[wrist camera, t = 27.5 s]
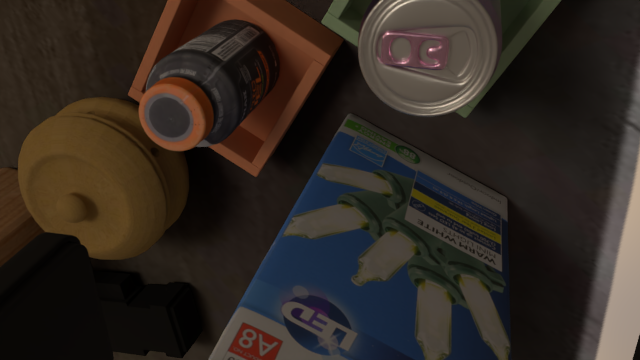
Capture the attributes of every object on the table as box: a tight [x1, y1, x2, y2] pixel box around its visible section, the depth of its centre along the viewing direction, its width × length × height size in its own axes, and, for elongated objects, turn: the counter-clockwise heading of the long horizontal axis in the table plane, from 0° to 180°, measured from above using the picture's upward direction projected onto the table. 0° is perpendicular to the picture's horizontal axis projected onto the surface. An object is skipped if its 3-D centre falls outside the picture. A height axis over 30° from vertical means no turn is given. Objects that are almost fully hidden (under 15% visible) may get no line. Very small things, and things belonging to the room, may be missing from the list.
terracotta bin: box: [128, 0, 344, 177], centre depth 42 cm, size 11×11×4 cm
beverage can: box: [358, 0, 502, 117], centre depth 31 cm, size 6×6×15 cm
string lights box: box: [208, 113, 511, 360], centre depth 34 cm, size 13×8×26 cm, turn 65°
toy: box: [93, 271, 203, 358], centre depth 57 cm, size 8×4×15 cm
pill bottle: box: [139, 19, 280, 151], centre depth 38 cm, size 6×6×11 cm
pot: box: [18, 97, 189, 260], centre depth 45 cm, size 12×12×10 cm
